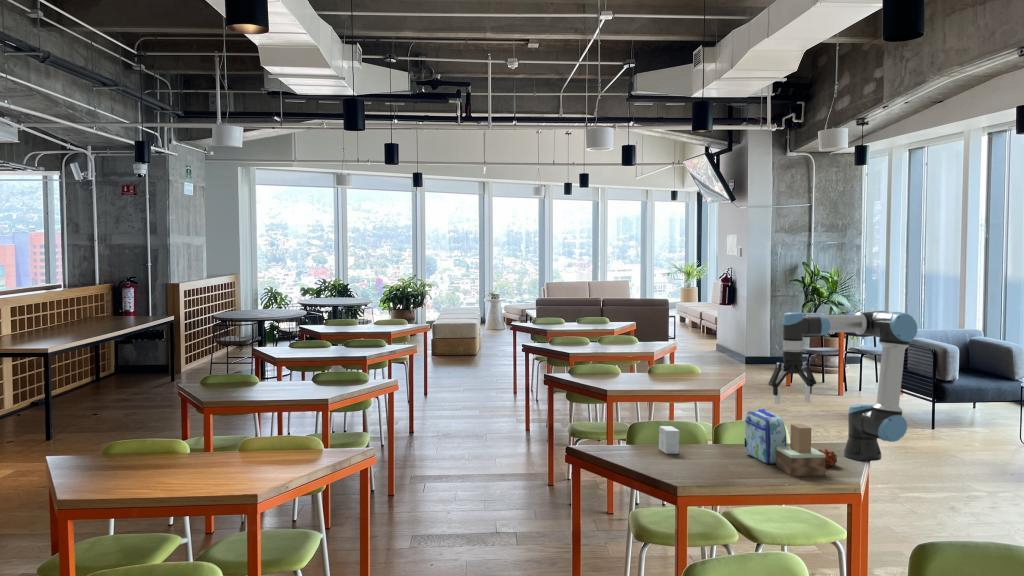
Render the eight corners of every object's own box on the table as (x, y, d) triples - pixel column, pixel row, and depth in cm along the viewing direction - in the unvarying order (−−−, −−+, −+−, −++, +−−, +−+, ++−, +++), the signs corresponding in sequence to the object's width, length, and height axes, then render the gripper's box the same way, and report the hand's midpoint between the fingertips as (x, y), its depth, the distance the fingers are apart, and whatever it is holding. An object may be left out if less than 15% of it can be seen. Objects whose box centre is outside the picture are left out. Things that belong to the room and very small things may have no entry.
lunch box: (741, 452, 355) (742, 406, 354) (765, 452, 356) (766, 406, 355) (763, 467, 329) (764, 417, 328) (788, 467, 330) (789, 417, 329)
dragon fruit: (840, 472, 329) (811, 476, 328) (831, 456, 335) (803, 460, 335) (843, 458, 323) (814, 463, 323) (834, 443, 330) (806, 447, 330)
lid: (809, 449, 328) (809, 422, 328) (825, 457, 314) (825, 429, 314) (776, 449, 327) (777, 422, 327) (791, 458, 313) (791, 429, 313)
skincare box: (679, 453, 353) (680, 430, 352) (665, 454, 352) (666, 430, 352) (672, 448, 363) (672, 425, 363) (658, 448, 362) (658, 425, 362)
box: (809, 468, 329) (809, 449, 328) (824, 477, 315) (825, 457, 314) (776, 468, 327) (776, 449, 327) (790, 478, 313) (791, 458, 313)
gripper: (814, 348, 328) (814, 399, 329) (760, 350, 323) (759, 402, 324) (825, 350, 321) (825, 402, 322) (769, 352, 316) (769, 405, 316)
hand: (792, 402), depth 323 cm, fingers open, 13 cm apart
